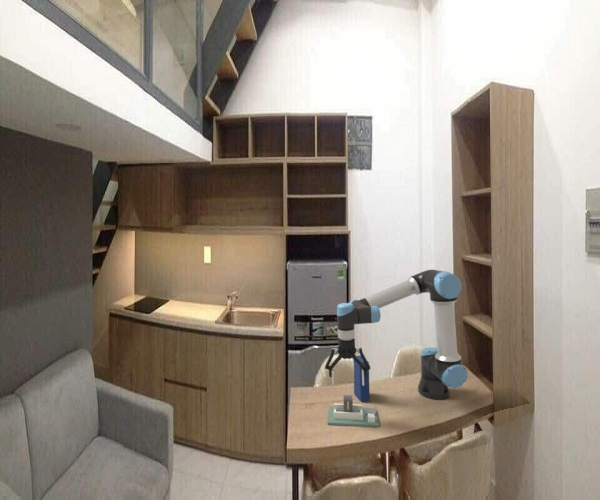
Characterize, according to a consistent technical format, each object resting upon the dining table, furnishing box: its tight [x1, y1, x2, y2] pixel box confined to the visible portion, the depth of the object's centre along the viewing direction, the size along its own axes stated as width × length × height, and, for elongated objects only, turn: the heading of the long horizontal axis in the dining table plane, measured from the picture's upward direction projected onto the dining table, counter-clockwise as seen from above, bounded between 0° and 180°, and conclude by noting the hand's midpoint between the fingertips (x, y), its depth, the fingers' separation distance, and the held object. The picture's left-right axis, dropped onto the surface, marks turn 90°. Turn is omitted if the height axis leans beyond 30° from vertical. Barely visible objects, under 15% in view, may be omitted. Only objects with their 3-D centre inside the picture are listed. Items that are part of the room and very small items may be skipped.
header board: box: [327, 403, 380, 428], centre depth 151 cm, size 22×14×4 cm, turn 82°
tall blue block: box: [352, 355, 371, 403], centre depth 169 cm, size 10×5×20 cm, turn 13°
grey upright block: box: [343, 394, 354, 412], centre depth 151 cm, size 4×6×8 cm, turn 172°
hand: (348, 384), depth 151 cm, fingers open, 13 cm apart
